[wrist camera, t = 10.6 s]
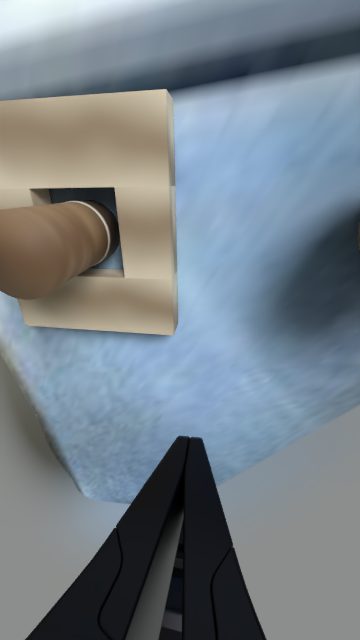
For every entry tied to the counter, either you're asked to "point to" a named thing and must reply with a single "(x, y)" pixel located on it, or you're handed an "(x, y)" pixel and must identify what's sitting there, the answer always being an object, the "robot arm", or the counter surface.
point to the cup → (359, 237)
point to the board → (130, 191)
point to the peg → (52, 245)
